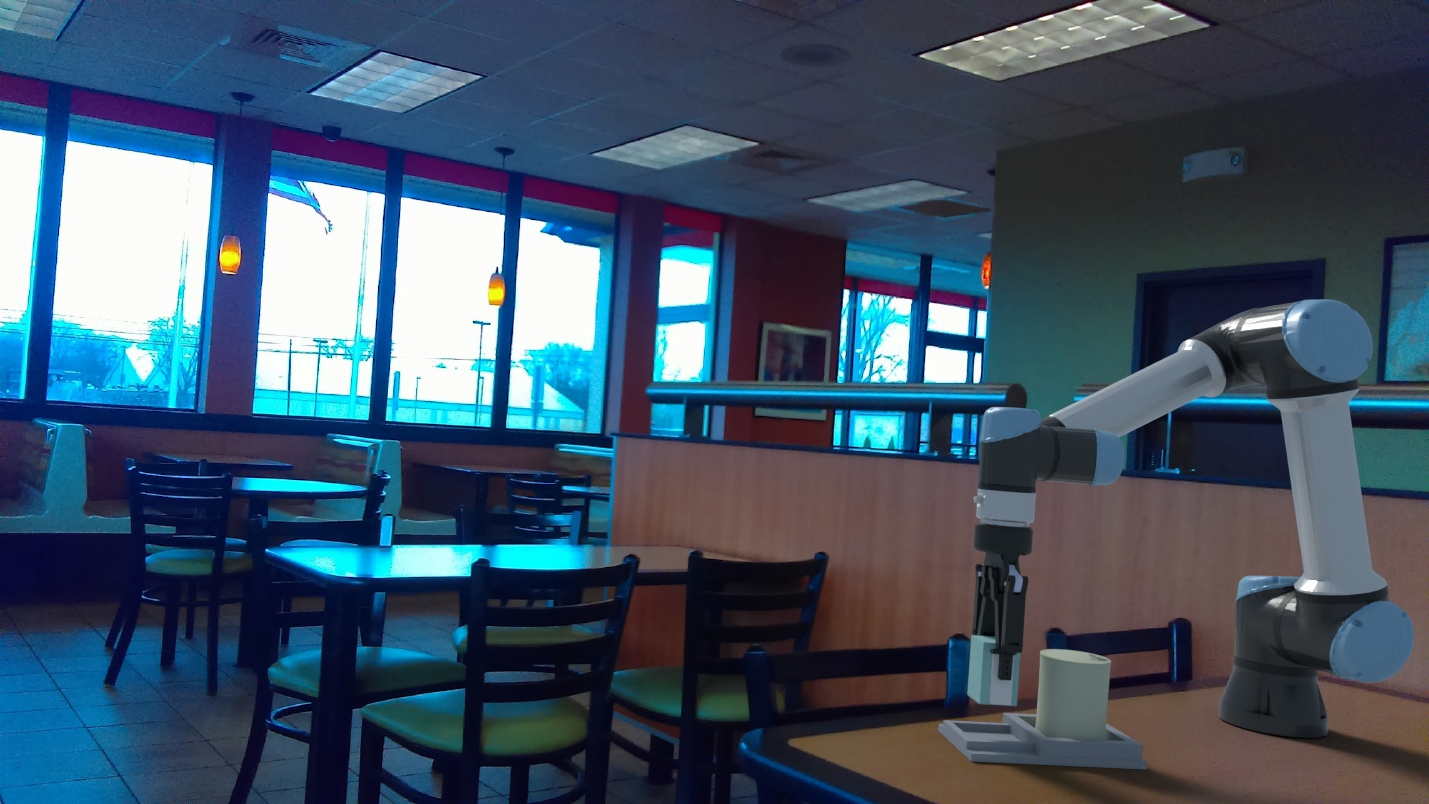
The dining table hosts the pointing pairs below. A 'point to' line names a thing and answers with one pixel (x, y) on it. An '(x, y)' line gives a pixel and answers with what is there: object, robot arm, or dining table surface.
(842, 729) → the dining table surface
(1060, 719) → the can
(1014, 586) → the robot arm
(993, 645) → the block
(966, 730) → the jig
